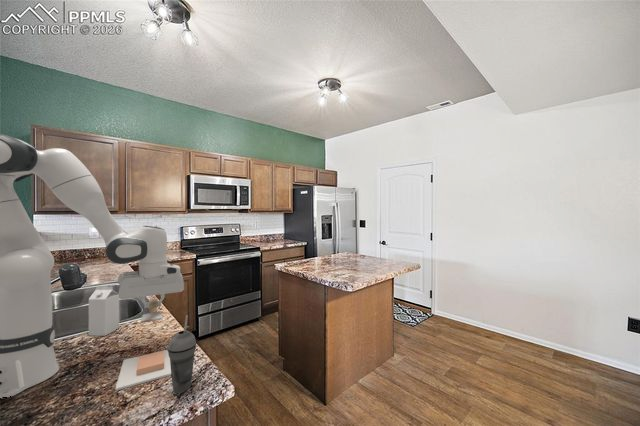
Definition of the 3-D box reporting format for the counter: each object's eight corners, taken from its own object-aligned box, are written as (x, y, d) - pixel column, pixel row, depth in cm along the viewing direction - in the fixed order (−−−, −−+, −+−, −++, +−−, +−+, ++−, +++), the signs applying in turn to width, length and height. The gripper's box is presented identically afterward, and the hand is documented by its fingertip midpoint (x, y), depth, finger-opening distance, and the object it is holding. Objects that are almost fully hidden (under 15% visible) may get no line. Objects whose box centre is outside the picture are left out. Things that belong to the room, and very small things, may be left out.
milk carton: (103, 328, 112) (103, 284, 113) (119, 328, 112) (119, 284, 112) (88, 336, 105) (88, 289, 105) (105, 336, 105) (105, 289, 105)
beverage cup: (169, 382, 75) (169, 313, 76) (197, 376, 78) (197, 310, 78) (164, 398, 68) (164, 323, 69) (195, 392, 71) (195, 318, 71)
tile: (139, 361, 85) (136, 376, 77) (139, 356, 85) (136, 369, 77) (163, 355, 89) (163, 368, 81) (163, 350, 89) (163, 363, 81)
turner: (140, 323, 85) (140, 313, 85) (144, 307, 100) (144, 299, 100) (162, 319, 88) (162, 310, 88) (162, 304, 103) (162, 297, 103)
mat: (115, 390, 72) (115, 388, 72) (123, 361, 86) (123, 359, 86) (173, 374, 79) (173, 372, 79) (172, 350, 94) (171, 348, 94)
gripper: (116, 274, 88) (116, 315, 88) (184, 268, 98) (184, 304, 98) (119, 271, 93) (119, 309, 93) (183, 265, 104) (183, 300, 103)
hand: (153, 307), depth 96 cm, fingers closed on turner, 2 cm apart
